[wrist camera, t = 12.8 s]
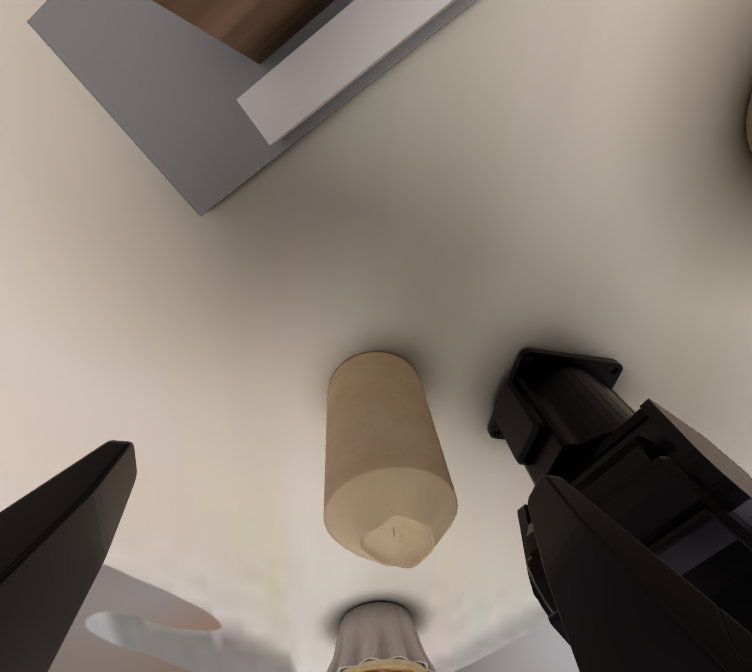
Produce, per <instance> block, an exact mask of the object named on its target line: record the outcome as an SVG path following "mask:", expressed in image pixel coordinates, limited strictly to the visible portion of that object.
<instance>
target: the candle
mask: <svg viewBox="0 0 752 672" xmlns="http://www.w3.org/2000/svg"><path fill="white" fill-rule="evenodd" d="M456 513H457V497H456V494H455V490H454V487H453V484H452V481H451V478H450V474H449V471H448V468H447V465H446V461H445V458H444V455H443V452H442V449H441V445H440V442H439V439H438V436H437V432H436V429H435V426H434V423H433V420H432V416H431V413H430V410H429V407H428V403H427V400H426V397H425V394H424V391H423V388H422V385H421V382H420V379H419V377H418V375H417V373H416V371H415V370H414V368H413V367H412V366H411V365H410V364H409V363H408V362H407V361H405V360H404V359H403V358H401V357H399V356H397V355H394V354H390V353H386V352H368V353H363V354H360V355H357V356H354V357H352V358H350V359H349V360H347V361H346V362H344V363H343V364H342V365H341V366H340V367H339V368H338V369H337V370H336V371H335V373H334V374H333V376H332V378H331V381H330V384H329V388H328V398H327V426H326V458H325V490H324V523H325V527H326V529H327V531H328V533H329V534H330V535H331V537H332V538H333V539H334V540H335V541H336V542H337V543H339V544H340V545H341V546H343V547H344V548H345V549H347V550H349V551H350V552H352V553H354V554H356V555H358V556H360V557H363V558H366V559H369V560H372V561H375V562H378V563H380V564H383V565H386V566H397V567H402V568H413V567H415V566H417V565H418V564H419V563H420V562H422V561H423V560H424V559H425V558H426V557H427V556H428V555H429V554H430V553H431V552H432V550H433V549H434V547H435V546H436V544H437V543H438V542H439V541H440V539H441V538H442V537H443V535H444V534H445V533H446V531H447V530H448V529H449V527H450V526H451V524H452V522H453V521H454V519H455V516H456Z"/></svg>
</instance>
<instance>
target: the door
mask: <svg viewBox="0 0 752 672" xmlns="http://www.w3.org/2000/svg"><path fill="white" fill-rule="evenodd" d="M152 1H154V2H156V3H157V4H159V5H161V6H162V7H164V8H166V9H167V10H169V11H171V12H172V13H174V14H176V15H177V16H179V17H181V18H182V19H184V20H186V21H188V22H189V23H191V24H193V25H194V26H196V27H198V28H199V29H201V30H203V31H204V32H206V33H208V34H209V35H211V36H213V37H214V38H216V39H218V40H219V41H221V42H223V43H224V44H226V45H228V46H229V47H231V48H233V49H235V50H236V51H238V52H240V53H241V54H243V55H245V56H246V57H248V58H250V59H251V60H253V61H255V62H256V63H258V64H261V63H262V62H264V61H265V60H266V59H267V58H268V57H269V56H271V55H272V54H273V53H274V52H275V51H276V50H278V49H279V48H280V47H281V46H282V45H283V44H285V43H286V42H287V41H288V40H289V39H290V38H292V37H293V36H294V35H295V34H296V33H297V32H299V31H300V30H301V29H302V28H303V27H304V26H306V25H307V24H308V23H309V22H310V21H311V20H313V19H314V18H315V17H316V16H317V15H319V14H320V13H321V12H322V11H323V10H324V9H326V8H327V7H328V6H329V5H330V4H331V3H333V2H334V1H335V0H152Z"/></svg>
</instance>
